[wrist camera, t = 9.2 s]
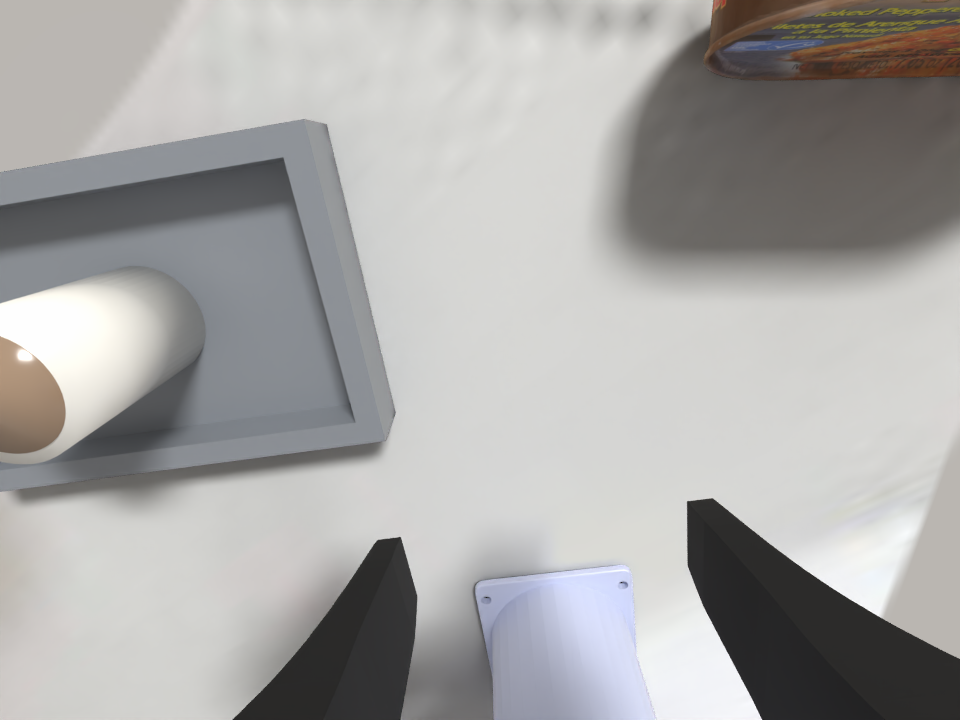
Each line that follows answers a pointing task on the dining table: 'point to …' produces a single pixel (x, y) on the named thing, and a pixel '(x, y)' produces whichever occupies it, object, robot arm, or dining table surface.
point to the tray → (212, 295)
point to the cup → (89, 356)
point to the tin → (834, 39)
